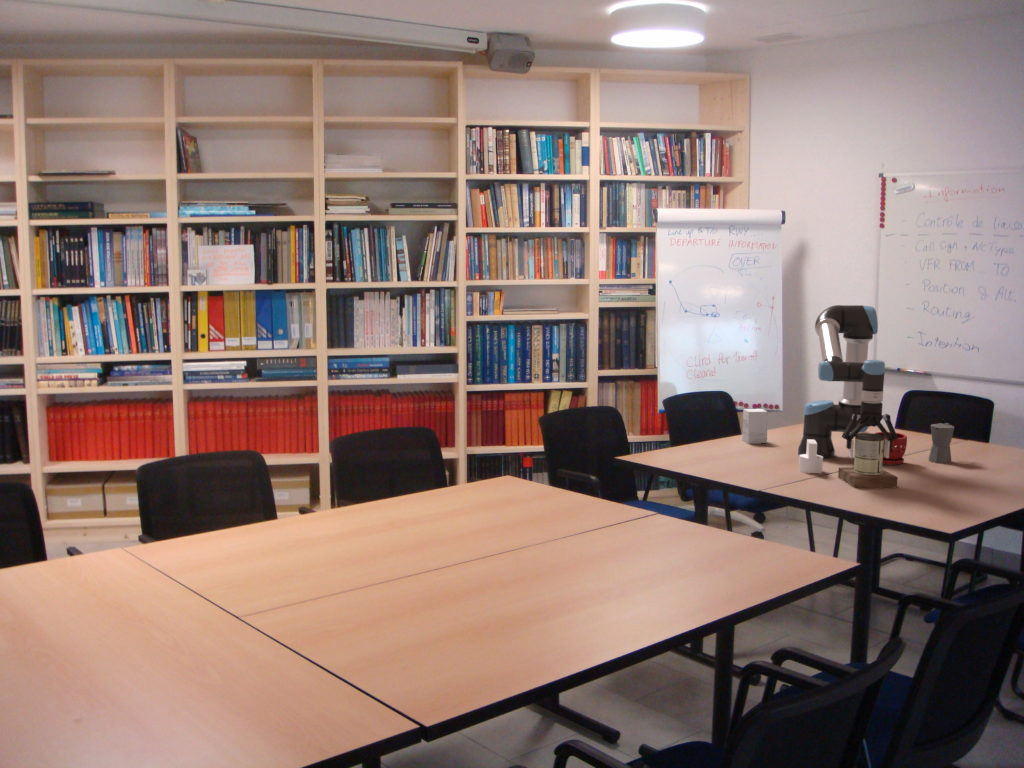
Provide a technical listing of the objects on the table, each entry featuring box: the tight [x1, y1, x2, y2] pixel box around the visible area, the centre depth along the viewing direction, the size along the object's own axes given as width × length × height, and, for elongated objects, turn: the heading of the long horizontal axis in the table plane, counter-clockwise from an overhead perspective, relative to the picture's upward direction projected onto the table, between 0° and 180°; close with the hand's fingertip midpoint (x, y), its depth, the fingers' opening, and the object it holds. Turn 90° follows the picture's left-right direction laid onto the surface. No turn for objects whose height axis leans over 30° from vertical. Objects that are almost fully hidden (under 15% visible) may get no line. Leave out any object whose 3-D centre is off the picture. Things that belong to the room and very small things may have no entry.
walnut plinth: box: [837, 466, 899, 488], centre depth 353 cm, size 16×16×4 cm
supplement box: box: [741, 408, 769, 445], centre depth 429 cm, size 9×9×15 cm
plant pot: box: [873, 431, 908, 466], centre depth 387 cm, size 13×13×12 cm
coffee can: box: [853, 432, 884, 475], centre depth 351 cm, size 10×10×14 cm
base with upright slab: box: [798, 439, 824, 474], centre depth 370 cm, size 9×9×12 cm
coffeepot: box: [928, 418, 955, 464], centre depth 391 cm, size 15×9×18 cm, turn 137°
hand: (868, 457), depth 352 cm, fingers open, 13 cm apart
